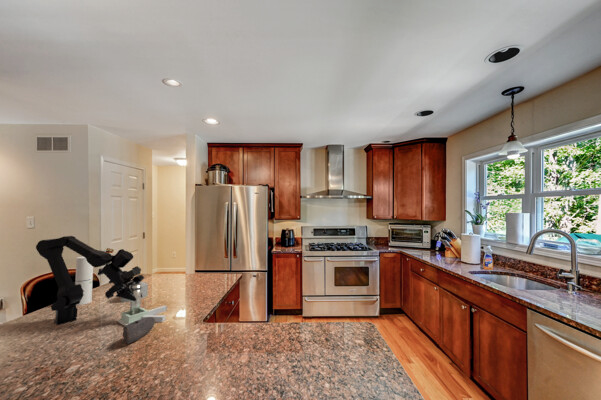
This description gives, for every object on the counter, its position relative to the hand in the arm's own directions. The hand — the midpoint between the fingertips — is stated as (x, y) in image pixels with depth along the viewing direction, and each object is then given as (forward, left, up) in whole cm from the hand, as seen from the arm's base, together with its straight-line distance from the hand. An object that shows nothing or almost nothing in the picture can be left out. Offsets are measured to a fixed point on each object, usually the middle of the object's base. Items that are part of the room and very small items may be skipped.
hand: (138, 298), depth 112 cm
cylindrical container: (-7, +50, -10) cm, 52 cm away
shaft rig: (+4, -3, -10) cm, 11 cm away
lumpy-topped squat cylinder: (+12, +35, -10) cm, 38 cm away
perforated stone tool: (-6, -17, -10) cm, 21 cm away
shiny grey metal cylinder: (-1, +1, -8) cm, 8 cm away
